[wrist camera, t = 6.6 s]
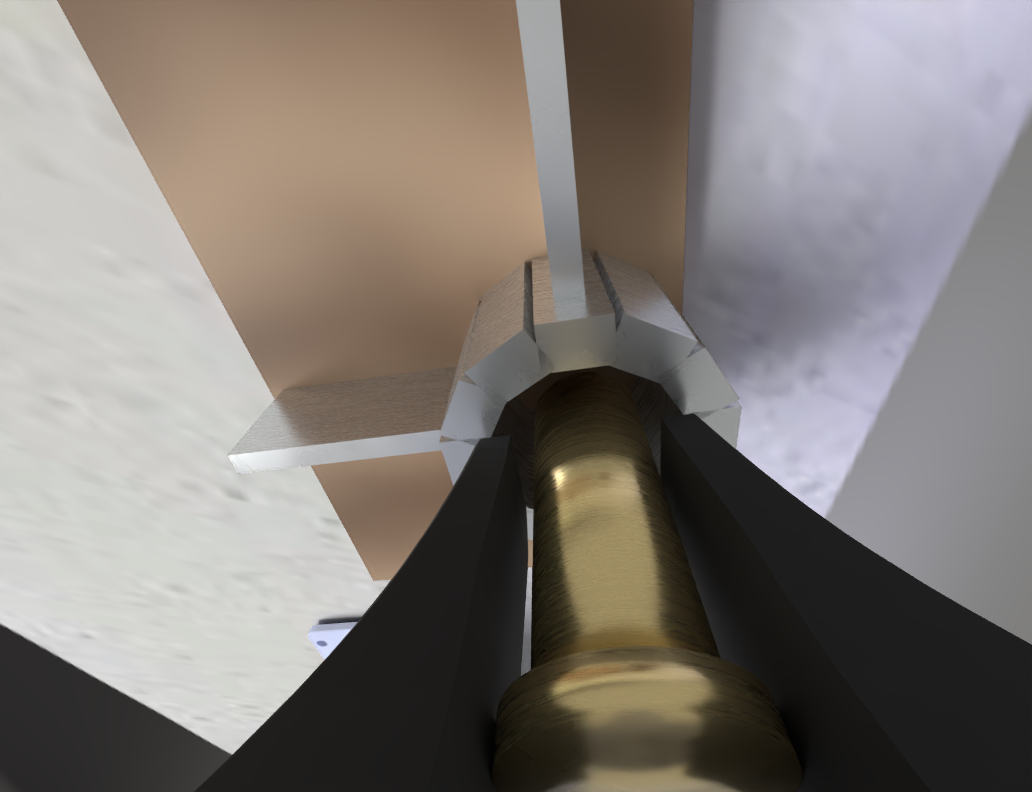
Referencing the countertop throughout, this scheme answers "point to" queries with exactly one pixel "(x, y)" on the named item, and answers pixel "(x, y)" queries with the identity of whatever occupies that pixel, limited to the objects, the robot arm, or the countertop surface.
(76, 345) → the countertop surface
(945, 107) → the countertop surface
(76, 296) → the countertop surface
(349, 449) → the grey winged collar
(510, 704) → the brass cabinet knob
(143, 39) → the walnut board
